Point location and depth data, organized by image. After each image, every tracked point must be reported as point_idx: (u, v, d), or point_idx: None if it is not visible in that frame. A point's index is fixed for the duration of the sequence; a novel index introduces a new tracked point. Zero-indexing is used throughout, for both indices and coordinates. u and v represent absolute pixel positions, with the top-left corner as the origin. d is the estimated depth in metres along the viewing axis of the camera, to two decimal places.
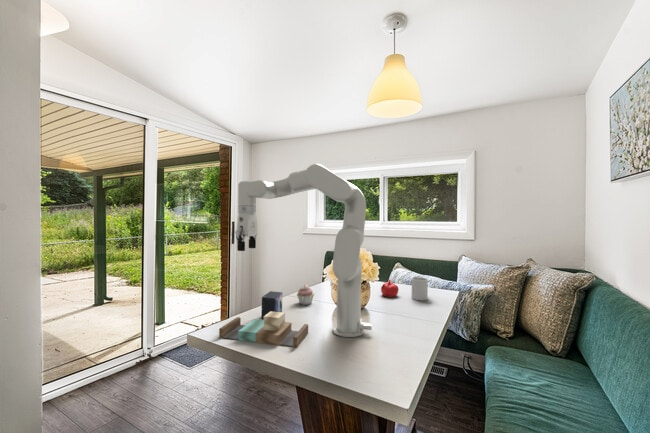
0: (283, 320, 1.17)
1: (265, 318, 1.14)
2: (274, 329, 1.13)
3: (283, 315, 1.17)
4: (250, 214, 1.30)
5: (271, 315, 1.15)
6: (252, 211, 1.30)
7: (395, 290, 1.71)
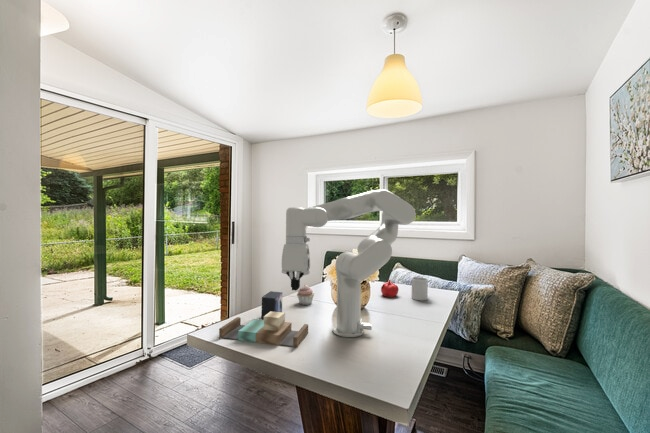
0: (283, 320, 1.17)
1: (265, 318, 1.14)
2: (274, 329, 1.13)
3: (283, 315, 1.17)
4: None
5: (271, 315, 1.15)
6: None
7: (395, 290, 1.71)
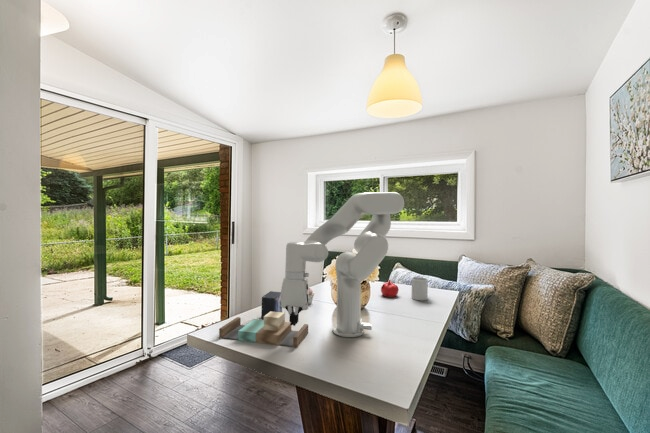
0: (283, 320, 1.17)
1: (265, 318, 1.14)
2: (274, 329, 1.13)
3: (283, 315, 1.17)
4: None
5: (271, 315, 1.15)
6: None
7: (395, 290, 1.71)
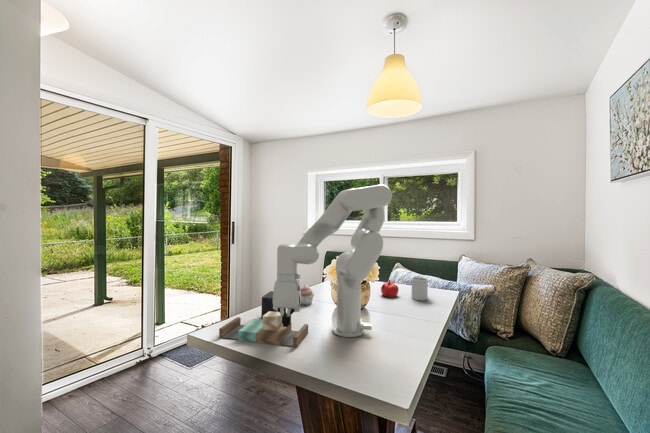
0: None
1: (264, 318, 1.14)
2: (273, 329, 1.13)
3: None
4: None
5: (270, 315, 1.15)
6: None
7: (395, 290, 1.71)
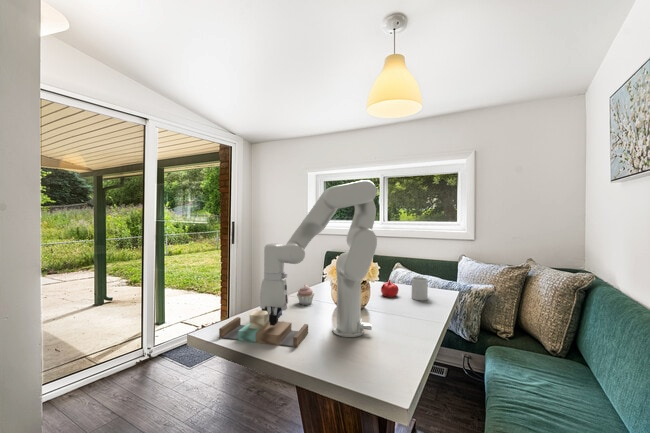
0: None
1: (251, 317, 1.15)
2: (260, 327, 1.14)
3: None
4: None
5: (257, 314, 1.16)
6: None
7: (395, 290, 1.71)
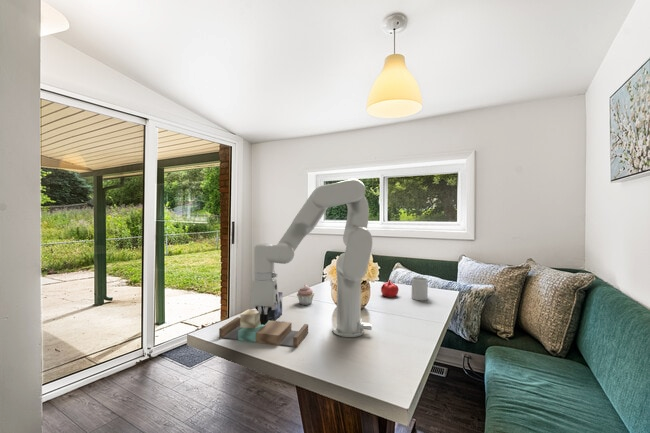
0: None
1: (242, 316, 1.16)
2: (250, 326, 1.15)
3: None
4: None
5: (248, 313, 1.17)
6: None
7: (395, 290, 1.71)
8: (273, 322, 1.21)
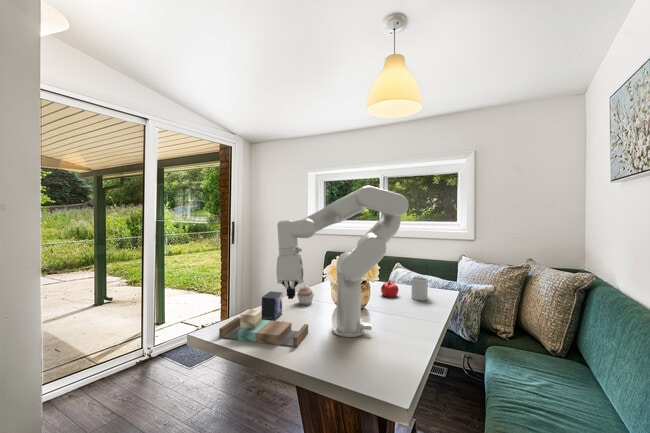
0: (260, 318, 1.19)
1: (242, 316, 1.16)
2: (250, 326, 1.15)
3: (260, 313, 1.19)
4: None
5: (248, 313, 1.17)
6: None
7: (395, 290, 1.71)
8: (273, 322, 1.21)
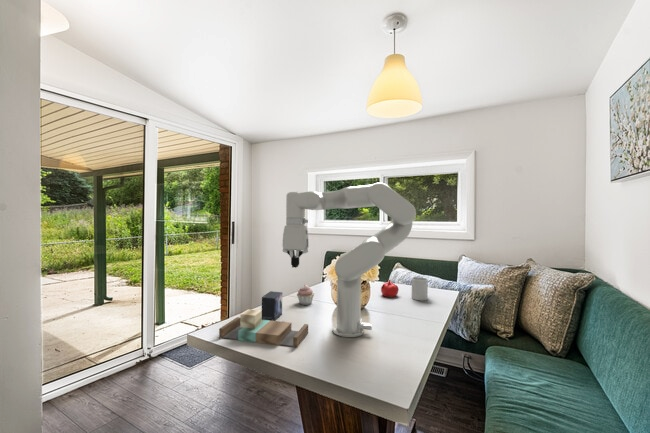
0: (260, 318, 1.19)
1: (242, 316, 1.16)
2: (250, 326, 1.15)
3: (260, 313, 1.19)
4: None
5: (248, 313, 1.17)
6: None
7: (395, 290, 1.71)
8: (273, 322, 1.21)
